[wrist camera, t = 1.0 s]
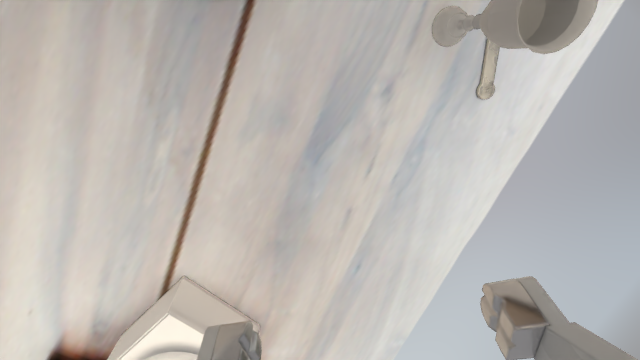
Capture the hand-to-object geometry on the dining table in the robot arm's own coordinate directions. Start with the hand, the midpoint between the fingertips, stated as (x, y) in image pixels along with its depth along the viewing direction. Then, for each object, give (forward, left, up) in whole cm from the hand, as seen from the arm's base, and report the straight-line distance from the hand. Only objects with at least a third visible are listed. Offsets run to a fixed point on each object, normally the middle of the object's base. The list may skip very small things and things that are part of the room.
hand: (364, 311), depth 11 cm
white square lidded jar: (+31, -32, -37) cm, 57 cm away
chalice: (-6, +23, -37) cm, 44 cm away
